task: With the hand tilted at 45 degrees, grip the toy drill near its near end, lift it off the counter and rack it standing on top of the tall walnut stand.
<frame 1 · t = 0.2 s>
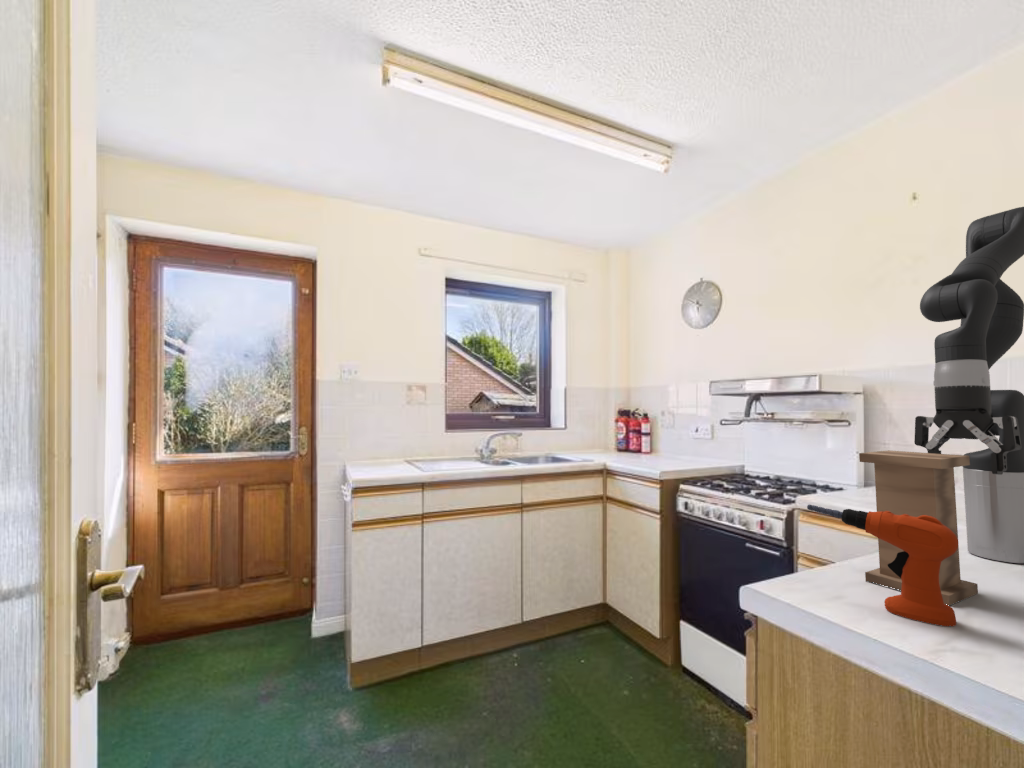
hand: (965, 471, 84), 18 cm above the worktop, tool pointing down, fingers open, 8 cm apart
toy drill: (879, 606, 68), on the worktop
walnut stand: (919, 587, 75), on the worktop
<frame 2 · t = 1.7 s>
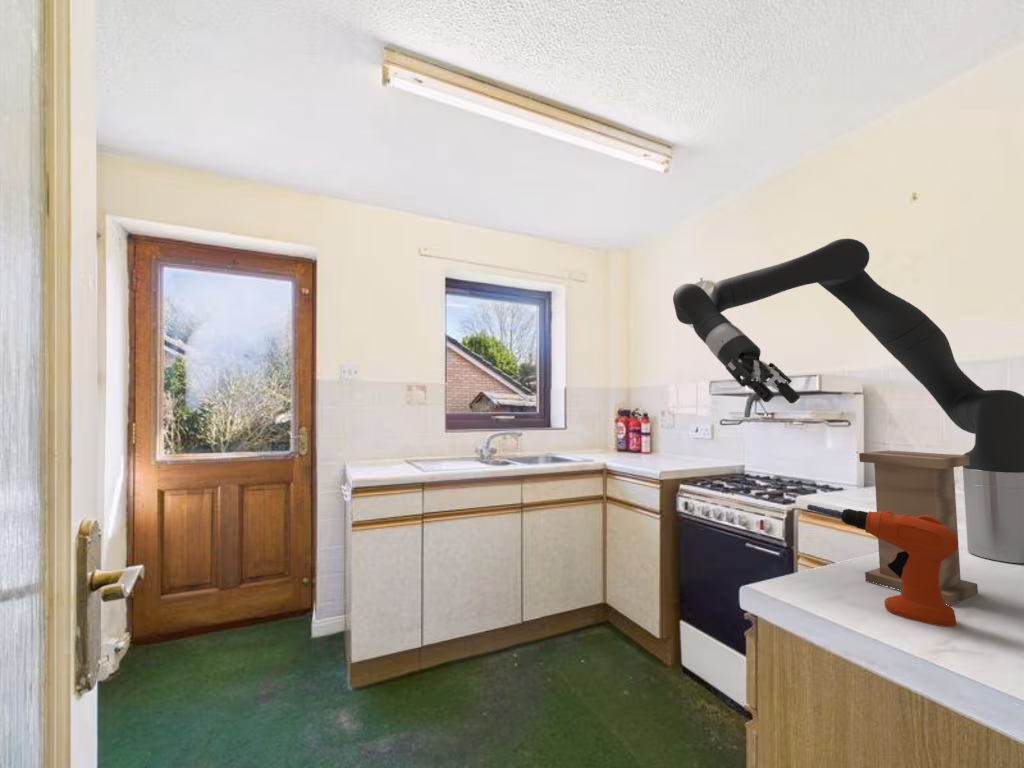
hand: (783, 399, 89), 32 cm above the worktop, tool tilted 45°, fingers open, 8 cm apart
nothing on the worktop moved.
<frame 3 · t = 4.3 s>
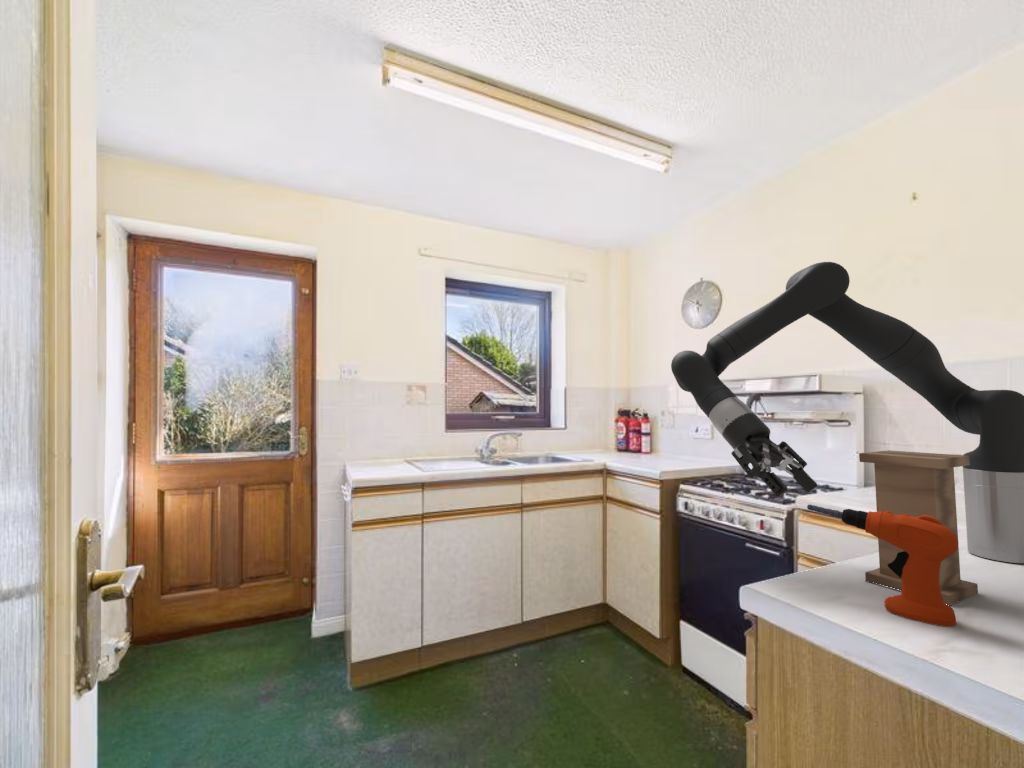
hand: (798, 491, 79), 15 cm above the worktop, tool tilted 45°, fingers open, 8 cm apart
nothing on the worktop moved.
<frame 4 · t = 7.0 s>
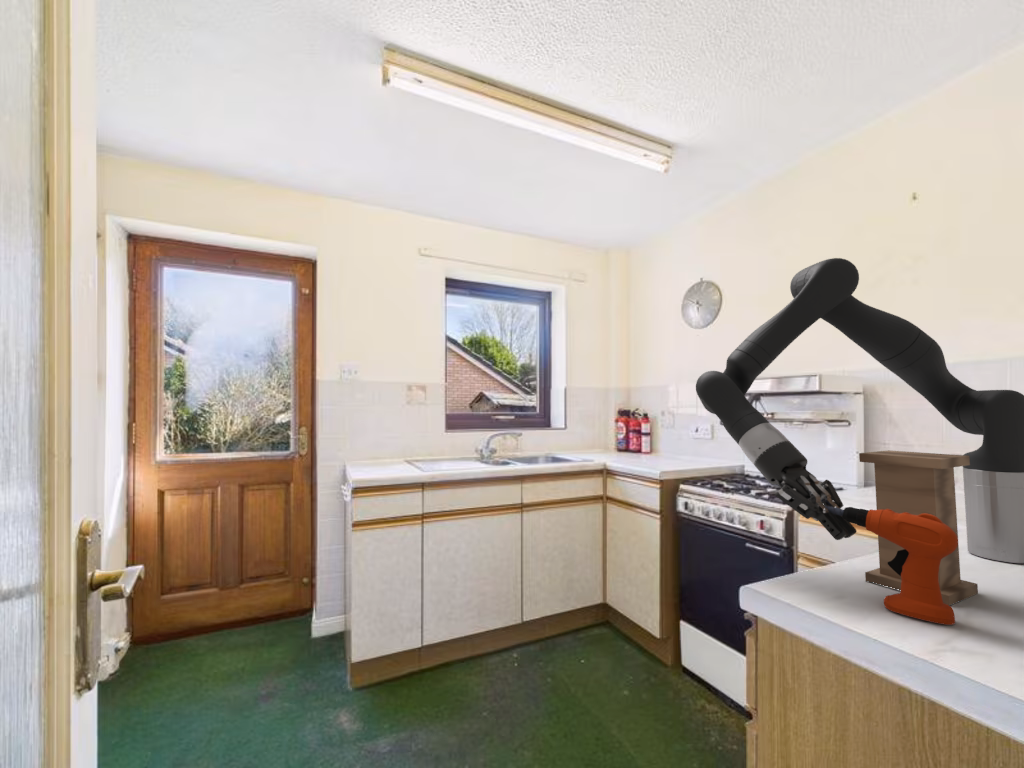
hand: (847, 535, 72), 9 cm above the worktop, tool tilted 45°, fingers closed on toy drill
toy drill: (879, 605, 68), on the worktop, touching gripper
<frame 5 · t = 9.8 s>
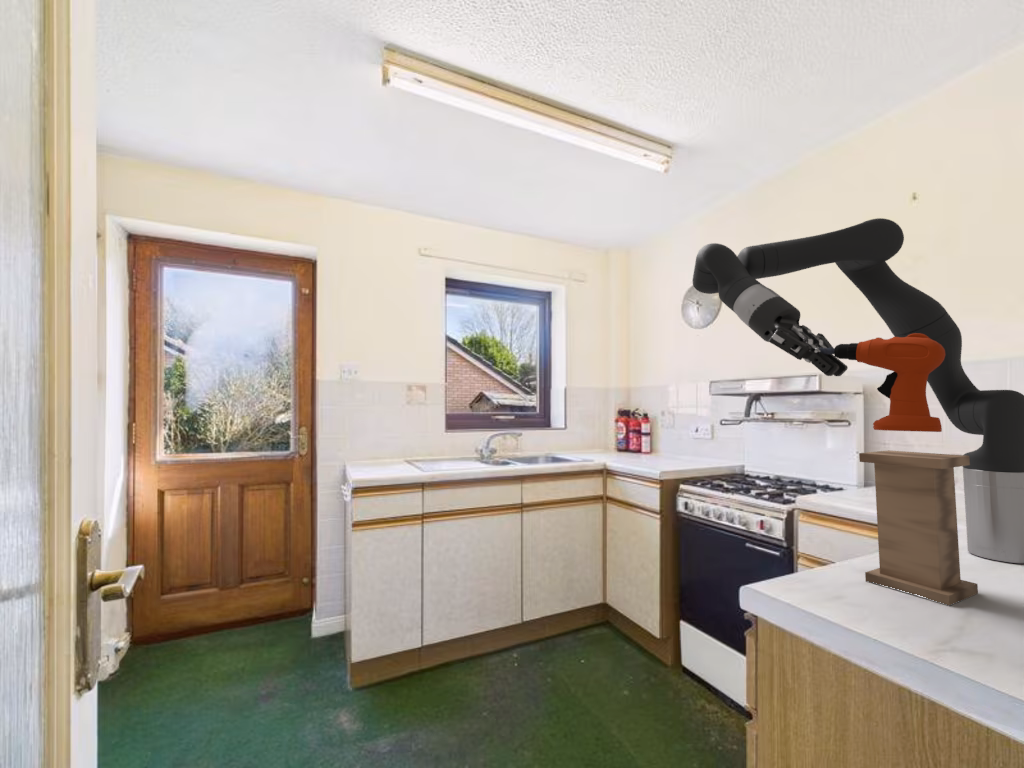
hand: (838, 372, 74), 36 cm above the worktop, tool tilted 45°, fingers closed on toy drill
toy drill: (868, 431, 70), point 26 cm above the worktop, touching gripper
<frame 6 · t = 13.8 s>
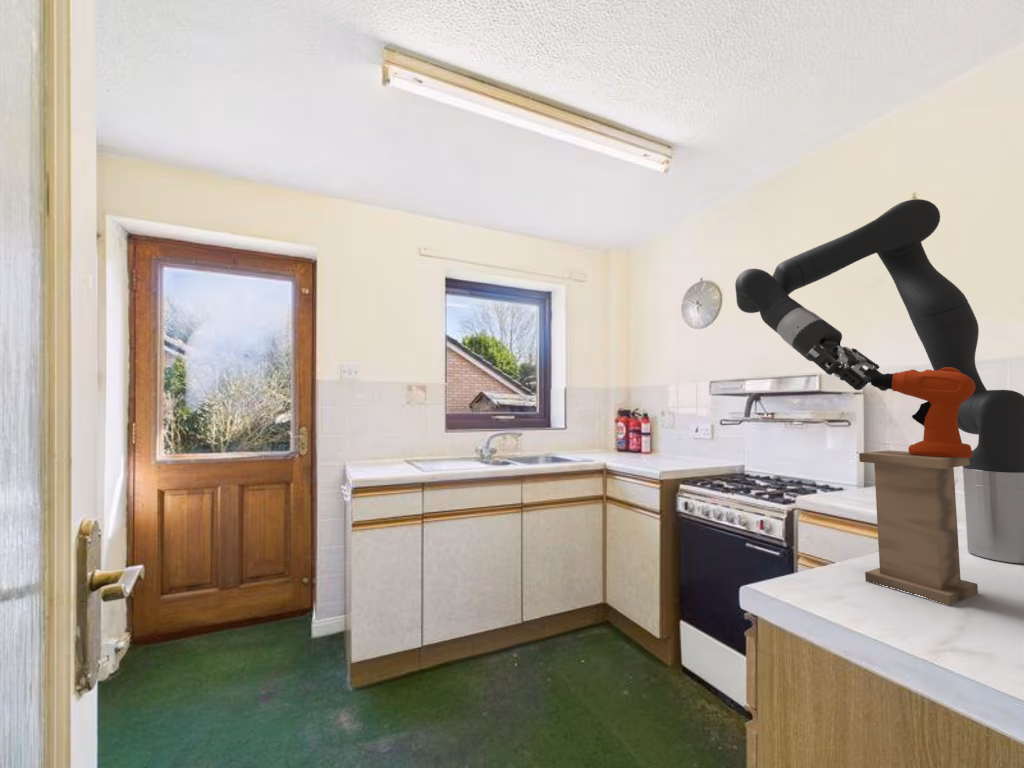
hand: (876, 387, 81), 34 cm above the worktop, tool tilted 45°, fingers open, 8 cm apart
toy drill: (904, 454, 77), point 22 cm above the worktop, touching walnut stand
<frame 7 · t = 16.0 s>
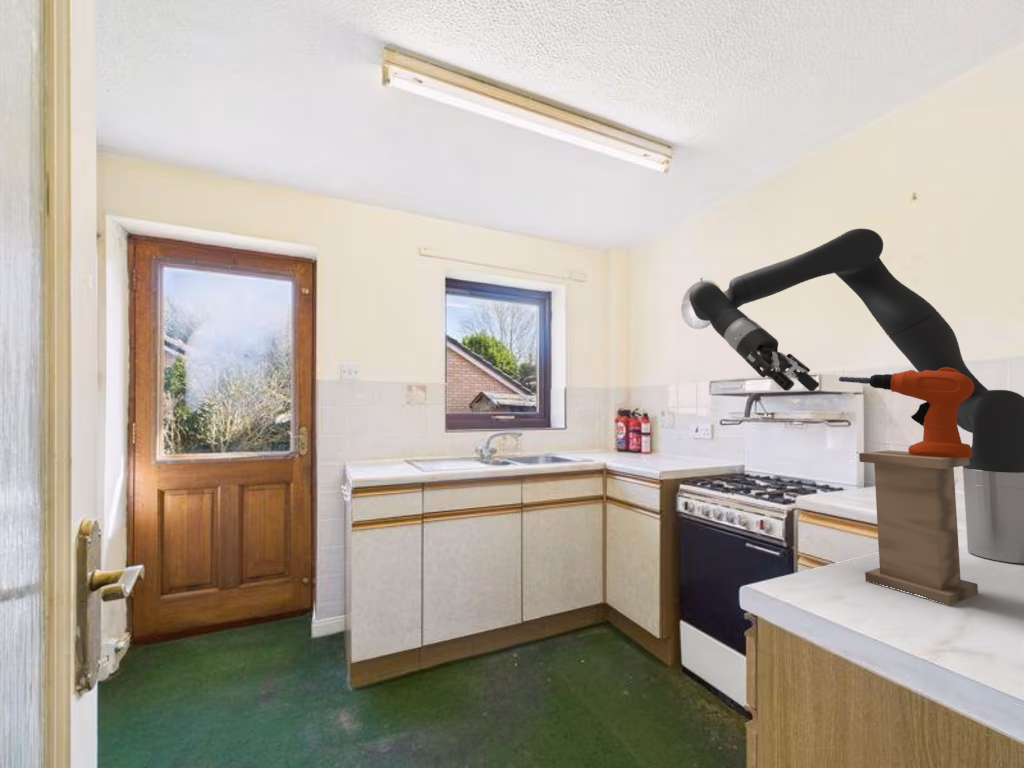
hand: (803, 387, 93), 34 cm above the worktop, tool tilted 45°, fingers open, 8 cm apart
nothing on the worktop moved.
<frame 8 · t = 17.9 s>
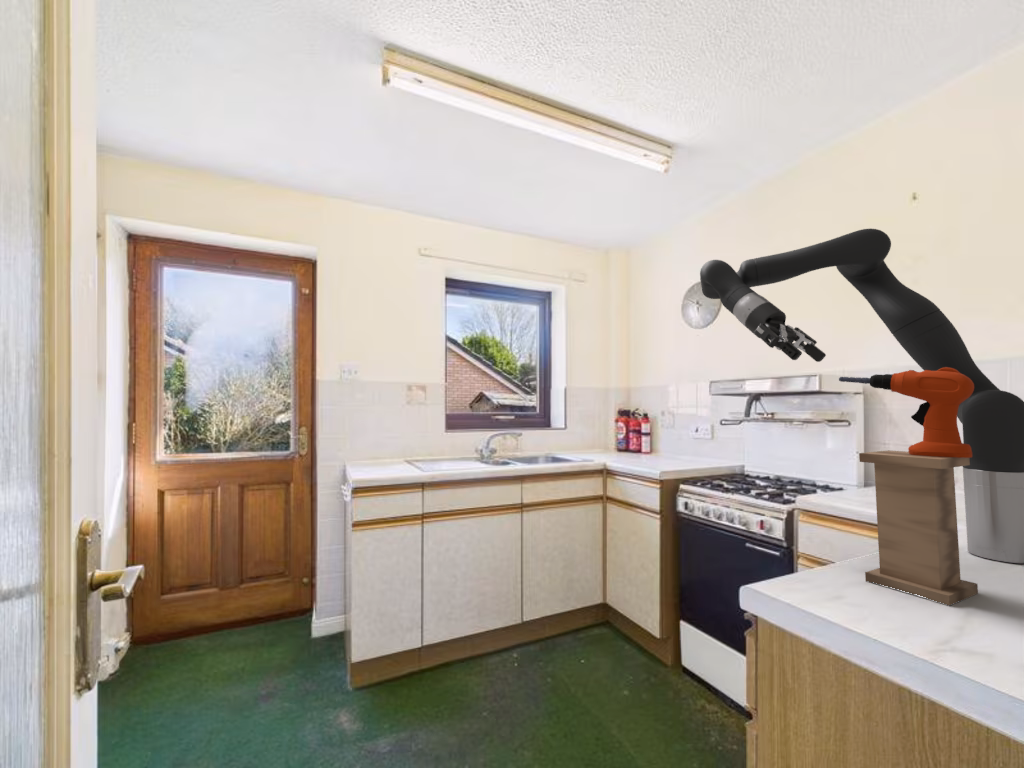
hand: (810, 357, 96), 41 cm above the worktop, tool tilted 45°, fingers open, 8 cm apart
nothing on the worktop moved.
at the end: toy drill inside the target area on the walnut stand (1.5 cm from its centre), point 21.8 cm above the walnut stand's base; toy drill tilted 1°; the gripper is holding nothing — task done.
